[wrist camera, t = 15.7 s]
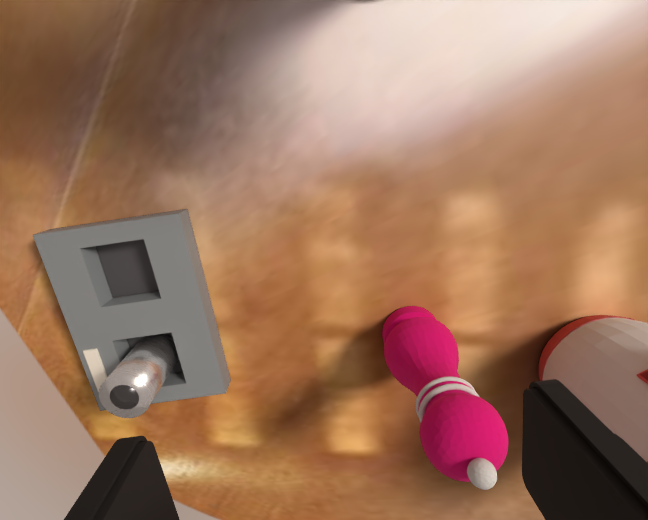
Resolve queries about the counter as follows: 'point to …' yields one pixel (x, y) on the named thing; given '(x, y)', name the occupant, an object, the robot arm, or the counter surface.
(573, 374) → the citrus juicer
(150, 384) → the bushing
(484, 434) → the pepper mill
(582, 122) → the counter surface
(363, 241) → the counter surface
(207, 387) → the block
